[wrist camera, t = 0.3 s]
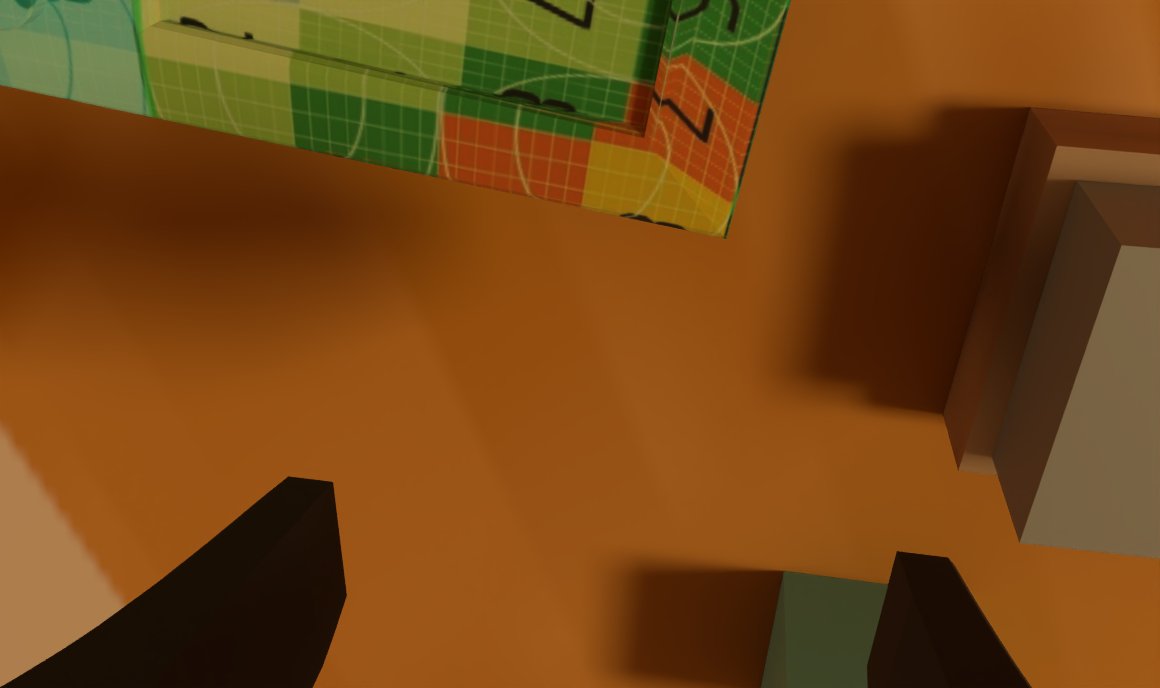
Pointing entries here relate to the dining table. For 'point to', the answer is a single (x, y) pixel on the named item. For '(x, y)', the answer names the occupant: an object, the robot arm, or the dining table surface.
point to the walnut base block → (1033, 258)
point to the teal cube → (822, 632)
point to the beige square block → (1091, 384)
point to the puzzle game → (440, 86)
